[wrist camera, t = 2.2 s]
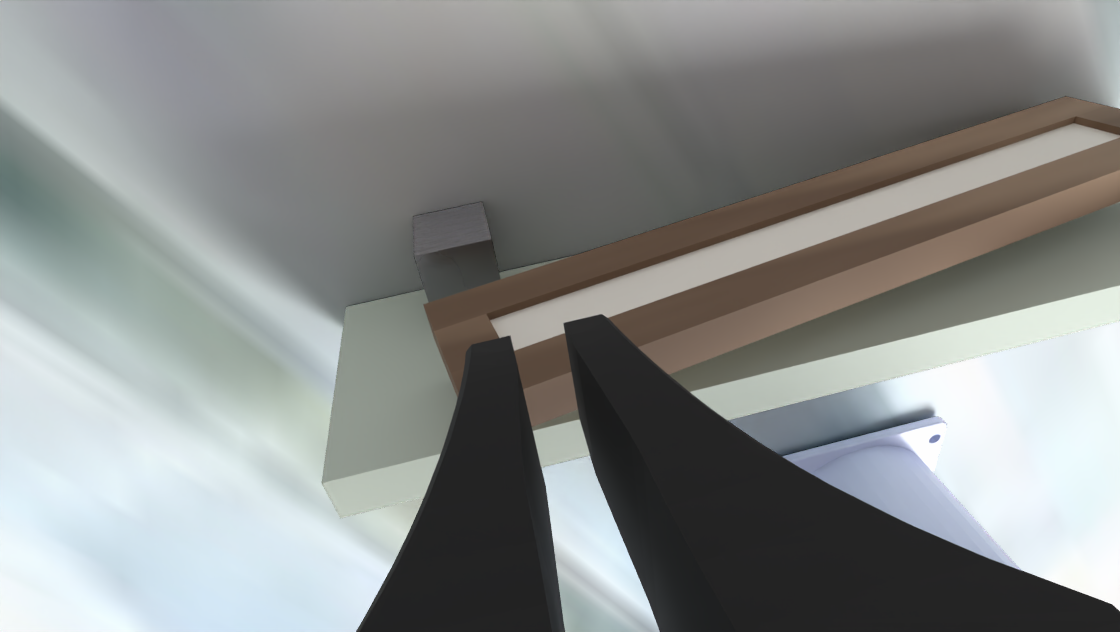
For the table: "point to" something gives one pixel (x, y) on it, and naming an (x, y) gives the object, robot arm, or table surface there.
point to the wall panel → (721, 382)
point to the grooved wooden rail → (795, 249)
